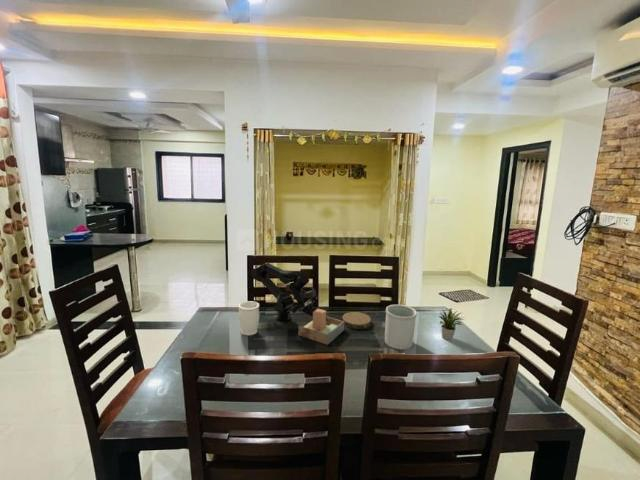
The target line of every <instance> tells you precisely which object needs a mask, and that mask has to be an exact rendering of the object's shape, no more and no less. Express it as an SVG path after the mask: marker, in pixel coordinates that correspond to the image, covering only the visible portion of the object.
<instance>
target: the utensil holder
mask: <svg viewBox="0 0 640 480" xmlns="http://www.w3.org/2000/svg"><path fill="white" fill-rule="evenodd" d="M417 314H418V312H417V310H416V309H415V308H413V307H411V306H408V305H404V304H390V305H388V306H386V308H385V322H384V323H385V325H384V327H385V328H384V342H385V344H386V345H387V346H388V347H390V348H393V349H396V350H409V349H411V347H413V341H414V335H415V327H416V319H417V316H418V315H417Z"/></svg>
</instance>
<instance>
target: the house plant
mask: <svg viewBox="0 0 640 480" xmlns="http://www.w3.org/2000/svg"><path fill="white" fill-rule="evenodd" d="M448 309H449V310H448V314H447V313H446V311H445V310H444V309H442V311H440V312H439V315H438V318H440V319H441V320H440V321H439V325H440V324H441V338H442V339H443V340H445V341H452V340H453V338H454V336H455V332H456V328H457V327H456V325H461V326H462V321H465V318H466V317H465V316H464V317H463V316H462V317H461V316H459V315H461V314H462V312H459V313H457V312H458V310H455V312H454V313H453V311H452V309H453V308H448ZM456 313H457V314H456ZM460 320H462V321H460Z"/></svg>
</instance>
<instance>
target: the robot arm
mask: <svg viewBox="0 0 640 480" xmlns="http://www.w3.org/2000/svg"><path fill="white" fill-rule="evenodd" d="M269 274H270V275H272V276H274V277H277V278H278V280H279V281H280V282H281V283H282V284H284V285H285V291H286V292H283V291H282V290H281V289H280V288H279V287H278V285H277V284H275V282H273V280H272V279H271V278H270V277H269ZM251 277H252V278H253V279H254V280H255V281H256V282H260V283H261V284H262V285H263V286H264V287H265V288H266V289H267V290H268V291H269V292H270V294H272V296H273V297H274V299H275V300H276V305H275V306H274V310H275V311H276V312H277V314H276V315H277V317H276V318H275V320H276V321H279V322H281V323H282V322H283V323H287V322H288V321H289V320H291V319H292V317H291V312H292V313H293V314H294V315H295V314H296V313H297V312H298V311H300V312H303V313H305V314H307V315H308V316H311V318H313V312H314V311H315V309H314V306H313V305H314V302H315V301H316V300H317V299H319V296H318V294H316V293H317V291H316V289H315V288H314V287H312V288H311V287H310V289H309V291H306V290H305V289H304V290H303V288H304V287H305V286H307V284H309V282H310V278H309V276H307V275H306V274H304V273H303V272H299V273H298V274H296V273H295V272H294V271H292V270H283V269H282V268H280V267H277V266H275V265H273V264H271V263H270V262H265V263H262V264H261V265H260V266H257V267H256V268H253V269H252V270H251ZM288 291H289V292H290V293H291V294H290V293H289V292H288ZM295 300H296V302H297V303H296V305H294V302H295ZM290 309H291V310H290Z"/></svg>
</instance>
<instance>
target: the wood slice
mask: <svg viewBox="0 0 640 480" xmlns="http://www.w3.org/2000/svg"><path fill="white" fill-rule="evenodd" d="M341 318H342V320H341V321H344V327H348V328H350V329H355V330H362V329H367V328H369V327H370V326H371V322H372V319H371V316H370V315H368V314H366V313H364V312H359V311H351V312H346V313H344V314H342V317H341Z"/></svg>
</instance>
